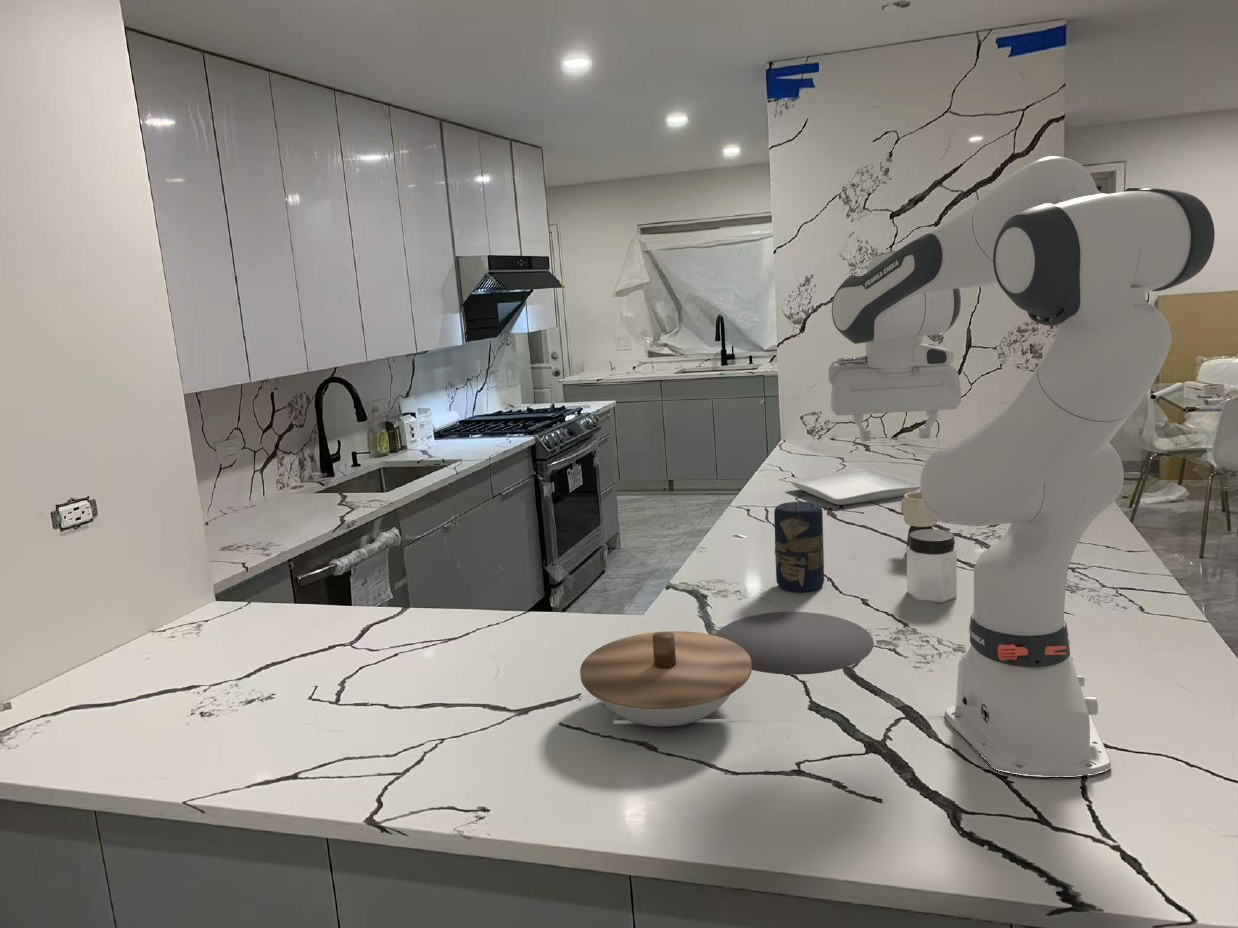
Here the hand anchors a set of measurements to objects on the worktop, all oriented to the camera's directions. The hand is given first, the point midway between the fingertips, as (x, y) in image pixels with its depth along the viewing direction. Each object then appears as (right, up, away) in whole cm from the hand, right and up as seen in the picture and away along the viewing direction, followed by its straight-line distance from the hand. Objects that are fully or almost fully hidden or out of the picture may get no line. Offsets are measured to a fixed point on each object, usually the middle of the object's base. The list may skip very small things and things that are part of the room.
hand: (894, 439), depth 145 cm
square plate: (+22, -13, +107) cm, 110 cm away
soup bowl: (-38, -41, -14) cm, 58 cm away
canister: (-9, -29, +34) cm, 45 cm away
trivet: (-16, -35, +7) cm, 39 cm away
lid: (-38, -34, -15) cm, 54 cm away
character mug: (+21, -24, +50) cm, 59 cm away
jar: (+14, -29, +24) cm, 40 cm away
